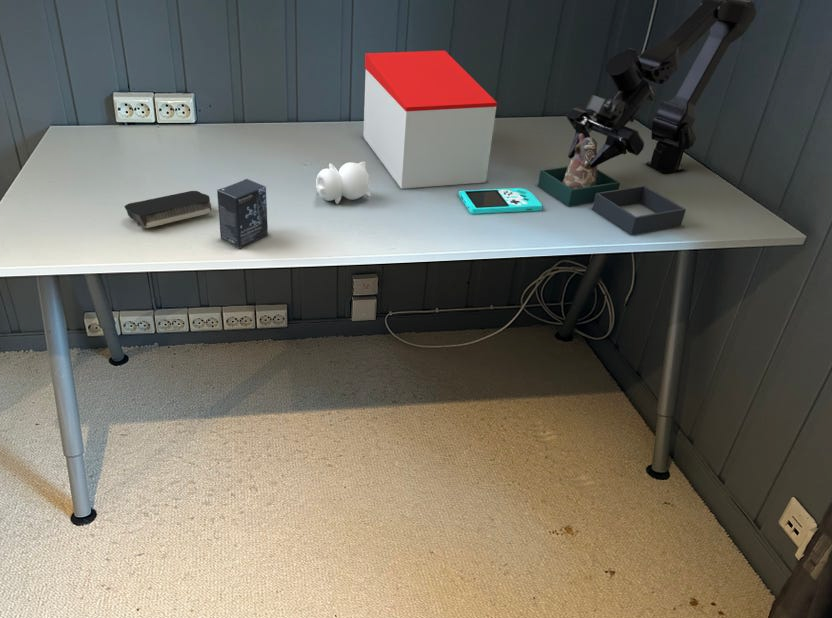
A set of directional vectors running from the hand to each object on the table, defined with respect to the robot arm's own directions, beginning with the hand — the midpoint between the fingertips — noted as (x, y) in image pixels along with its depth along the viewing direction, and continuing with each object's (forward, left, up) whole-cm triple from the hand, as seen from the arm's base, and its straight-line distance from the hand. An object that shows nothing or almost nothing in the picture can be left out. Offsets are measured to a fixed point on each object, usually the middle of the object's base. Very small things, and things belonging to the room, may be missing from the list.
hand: (579, 162), depth 162 cm
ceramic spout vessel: (-1, 0, -7) cm, 7 cm away
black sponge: (+88, -17, -7) cm, 90 cm away
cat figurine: (+51, -15, -7) cm, 53 cm away
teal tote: (-1, 0, -7) cm, 7 cm away
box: (+76, -3, -7) cm, 76 cm away
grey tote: (-5, +15, -7) cm, 18 cm away
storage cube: (+24, -31, -7) cm, 39 cm away
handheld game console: (+19, -1, -7) cm, 20 cm away
